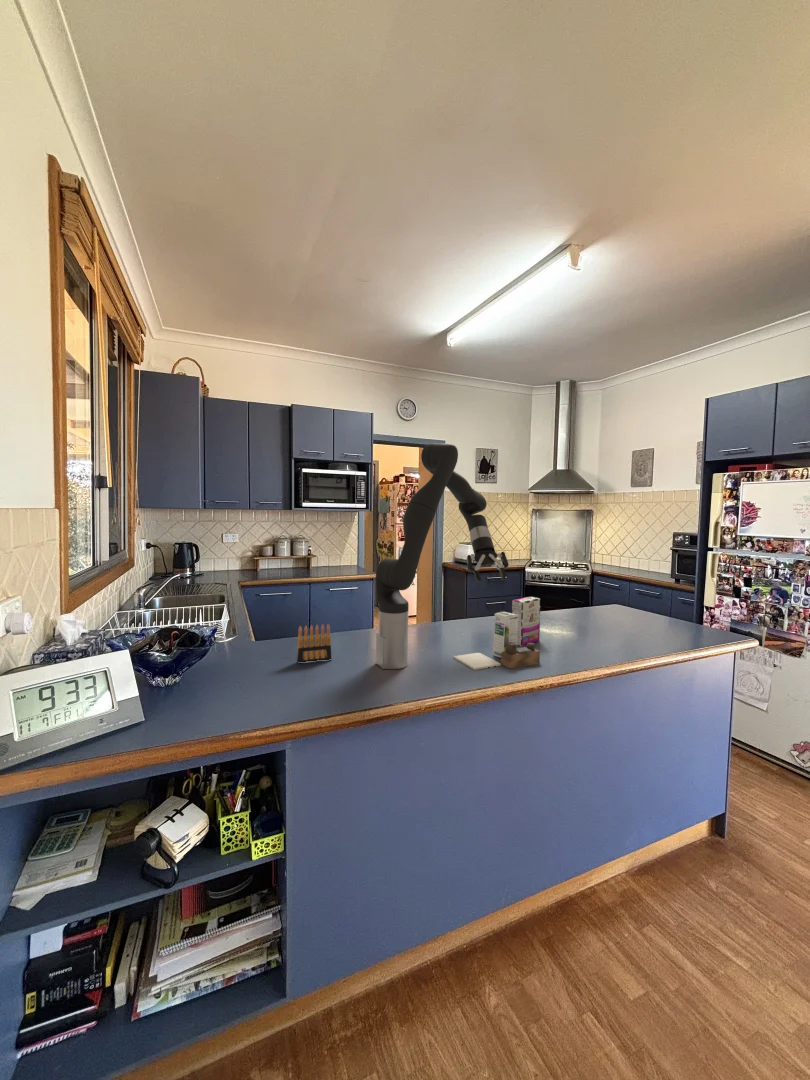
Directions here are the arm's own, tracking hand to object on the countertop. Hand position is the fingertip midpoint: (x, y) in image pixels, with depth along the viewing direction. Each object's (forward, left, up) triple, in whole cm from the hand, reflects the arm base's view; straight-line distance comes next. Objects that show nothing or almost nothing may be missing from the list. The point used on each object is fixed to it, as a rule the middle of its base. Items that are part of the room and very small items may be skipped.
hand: (491, 580), depth 156 cm
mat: (-12, -9, -24) cm, 29 cm away
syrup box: (0, -8, -25) cm, 26 cm away
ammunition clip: (-60, +11, -25) cm, 66 cm away
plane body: (0, -16, -24) cm, 29 cm away
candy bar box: (+17, +2, -25) cm, 30 cm away
